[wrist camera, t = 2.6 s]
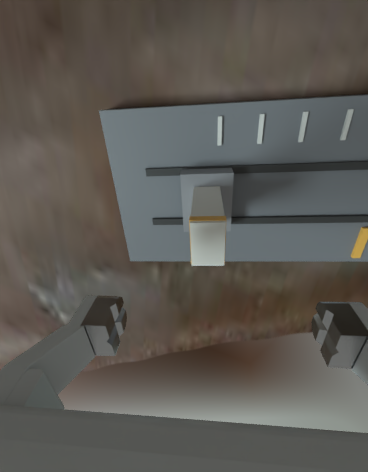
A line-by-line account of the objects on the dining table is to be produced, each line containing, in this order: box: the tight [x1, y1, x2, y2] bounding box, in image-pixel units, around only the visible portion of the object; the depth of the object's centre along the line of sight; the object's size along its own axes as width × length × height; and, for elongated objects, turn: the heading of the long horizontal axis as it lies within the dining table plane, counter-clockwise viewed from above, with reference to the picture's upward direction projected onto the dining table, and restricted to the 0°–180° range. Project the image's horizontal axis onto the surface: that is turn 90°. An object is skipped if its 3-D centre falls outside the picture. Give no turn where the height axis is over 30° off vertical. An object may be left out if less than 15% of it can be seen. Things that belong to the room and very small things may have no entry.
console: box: [99, 94, 368, 261], centre depth 21 cm, size 14×30×2 cm, turn 93°
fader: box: [180, 168, 234, 266], centre depth 17 cm, size 5×4×8 cm
